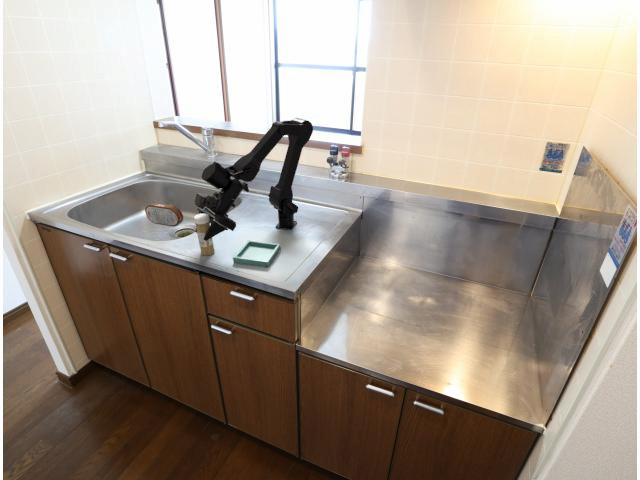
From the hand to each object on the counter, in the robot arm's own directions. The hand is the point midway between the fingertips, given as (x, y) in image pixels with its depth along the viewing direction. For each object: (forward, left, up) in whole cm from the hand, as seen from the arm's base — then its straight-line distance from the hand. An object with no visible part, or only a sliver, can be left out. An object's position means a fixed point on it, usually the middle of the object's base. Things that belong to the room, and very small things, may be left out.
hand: (200, 236), depth 119 cm
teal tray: (-3, +18, -7) cm, 19 cm away
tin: (-16, -25, -7) cm, 31 cm away
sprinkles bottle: (-1, +1, -7) cm, 7 cm away
